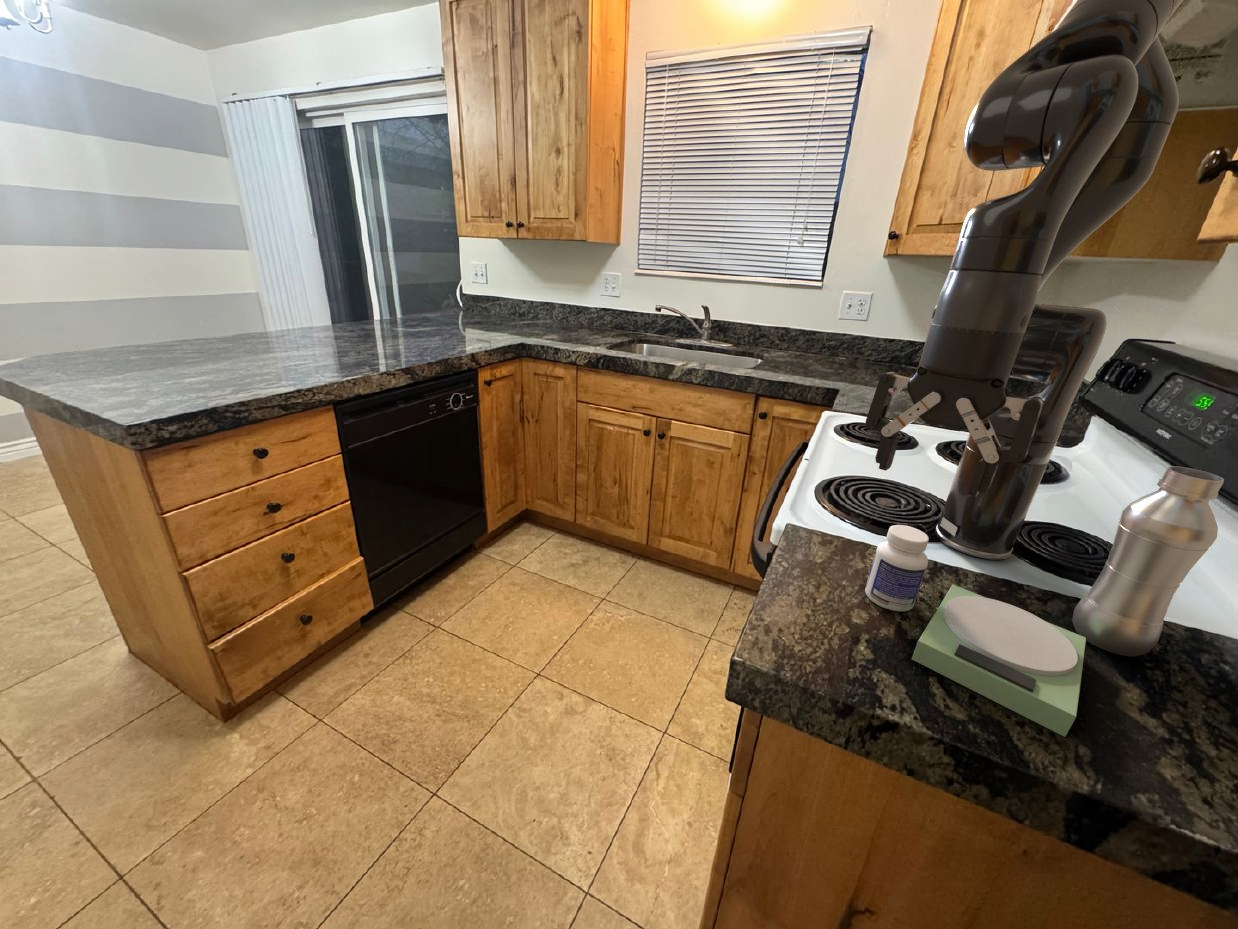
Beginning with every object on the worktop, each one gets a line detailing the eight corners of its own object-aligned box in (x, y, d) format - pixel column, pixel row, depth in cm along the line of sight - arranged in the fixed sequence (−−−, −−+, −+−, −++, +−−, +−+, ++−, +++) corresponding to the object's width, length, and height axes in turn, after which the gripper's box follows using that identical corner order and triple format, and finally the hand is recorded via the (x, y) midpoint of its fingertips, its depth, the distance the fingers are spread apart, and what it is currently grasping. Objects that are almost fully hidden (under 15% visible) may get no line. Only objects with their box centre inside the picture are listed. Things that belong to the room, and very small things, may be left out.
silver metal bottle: (1164, 671, 50) (1274, 492, 43) (1088, 658, 51) (1182, 482, 44) (1118, 629, 56) (1207, 465, 48) (1051, 618, 57) (1128, 457, 50)
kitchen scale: (946, 600, 59) (954, 579, 58) (1076, 655, 52) (1088, 632, 50) (911, 659, 50) (920, 635, 48) (1065, 737, 42) (1079, 711, 41)
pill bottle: (922, 614, 56) (946, 547, 53) (876, 611, 56) (897, 544, 53) (898, 586, 61) (919, 523, 58) (856, 583, 61) (874, 520, 58)
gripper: (1077, 332, 45) (1012, 494, 51) (907, 314, 54) (869, 454, 60) (1071, 336, 40) (1000, 515, 46) (885, 316, 49) (846, 468, 55)
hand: (926, 480), depth 53 cm, fingers open, 8 cm apart
